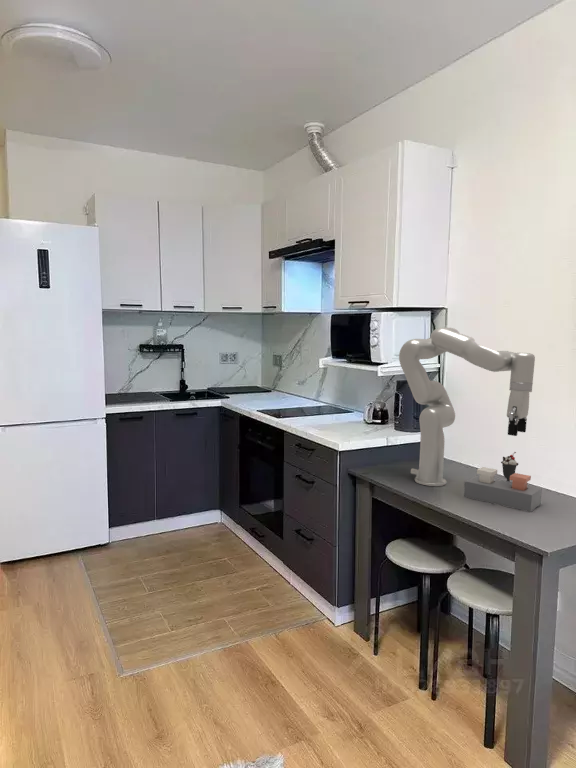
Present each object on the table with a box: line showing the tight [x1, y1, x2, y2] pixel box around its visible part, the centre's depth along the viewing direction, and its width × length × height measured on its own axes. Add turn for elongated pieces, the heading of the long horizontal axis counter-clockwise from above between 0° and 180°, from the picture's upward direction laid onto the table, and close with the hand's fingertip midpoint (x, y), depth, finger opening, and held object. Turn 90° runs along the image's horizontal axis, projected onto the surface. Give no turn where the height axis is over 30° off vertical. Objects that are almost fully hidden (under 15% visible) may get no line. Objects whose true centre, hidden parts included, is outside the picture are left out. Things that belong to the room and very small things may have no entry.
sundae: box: [500, 451, 519, 482], centre depth 215 cm, size 7×7×15 cm
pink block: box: [510, 472, 532, 491], centre depth 194 cm, size 6×6×8 cm
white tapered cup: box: [476, 466, 498, 484], centre depth 202 cm, size 6×6×8 cm
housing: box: [463, 474, 543, 513], centre depth 198 cm, size 24×12×6 cm, turn 49°
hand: (516, 433), depth 195 cm, fingers open, 9 cm apart
